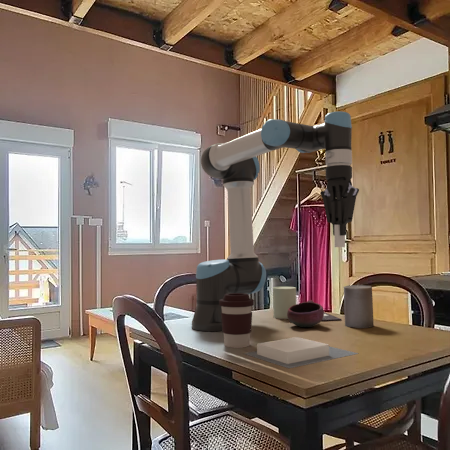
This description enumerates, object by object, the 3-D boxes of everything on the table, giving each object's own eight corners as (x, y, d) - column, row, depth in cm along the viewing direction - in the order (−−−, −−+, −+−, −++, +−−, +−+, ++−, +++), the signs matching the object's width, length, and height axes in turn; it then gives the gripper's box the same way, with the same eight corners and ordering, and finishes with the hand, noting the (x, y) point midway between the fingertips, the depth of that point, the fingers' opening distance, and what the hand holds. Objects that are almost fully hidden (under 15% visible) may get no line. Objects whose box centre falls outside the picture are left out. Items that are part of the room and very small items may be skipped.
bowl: (329, 329, 161) (329, 305, 161) (292, 330, 159) (291, 306, 159) (314, 321, 176) (314, 299, 177) (281, 322, 175) (280, 300, 175)
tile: (297, 347, 132) (257, 354, 124) (297, 336, 132) (257, 343, 124) (329, 355, 122) (287, 363, 114) (328, 344, 122) (287, 352, 114)
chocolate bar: (318, 320, 176) (302, 312, 194) (318, 322, 176) (302, 315, 194) (341, 319, 177) (323, 312, 195) (341, 321, 177) (323, 314, 195)
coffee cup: (230, 341, 143) (229, 291, 143) (260, 345, 138) (259, 293, 138) (213, 348, 134) (212, 295, 135) (244, 352, 129) (243, 296, 130)
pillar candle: (369, 323, 171) (367, 281, 172) (377, 328, 161) (375, 283, 162) (342, 323, 171) (340, 282, 172) (348, 328, 162) (346, 284, 162)
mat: (243, 355, 125) (243, 353, 125) (310, 343, 139) (310, 341, 139) (288, 370, 110) (288, 368, 110) (358, 355, 124) (358, 353, 124)
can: (270, 315, 191) (270, 285, 192) (293, 314, 192) (292, 285, 193) (275, 319, 182) (275, 287, 182) (299, 318, 183) (298, 287, 183)
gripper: (313, 167, 142) (314, 247, 141) (347, 161, 131) (348, 247, 130) (331, 169, 146) (332, 246, 145) (365, 164, 135) (366, 247, 135)
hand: (339, 247), depth 138 cm, fingers closed
